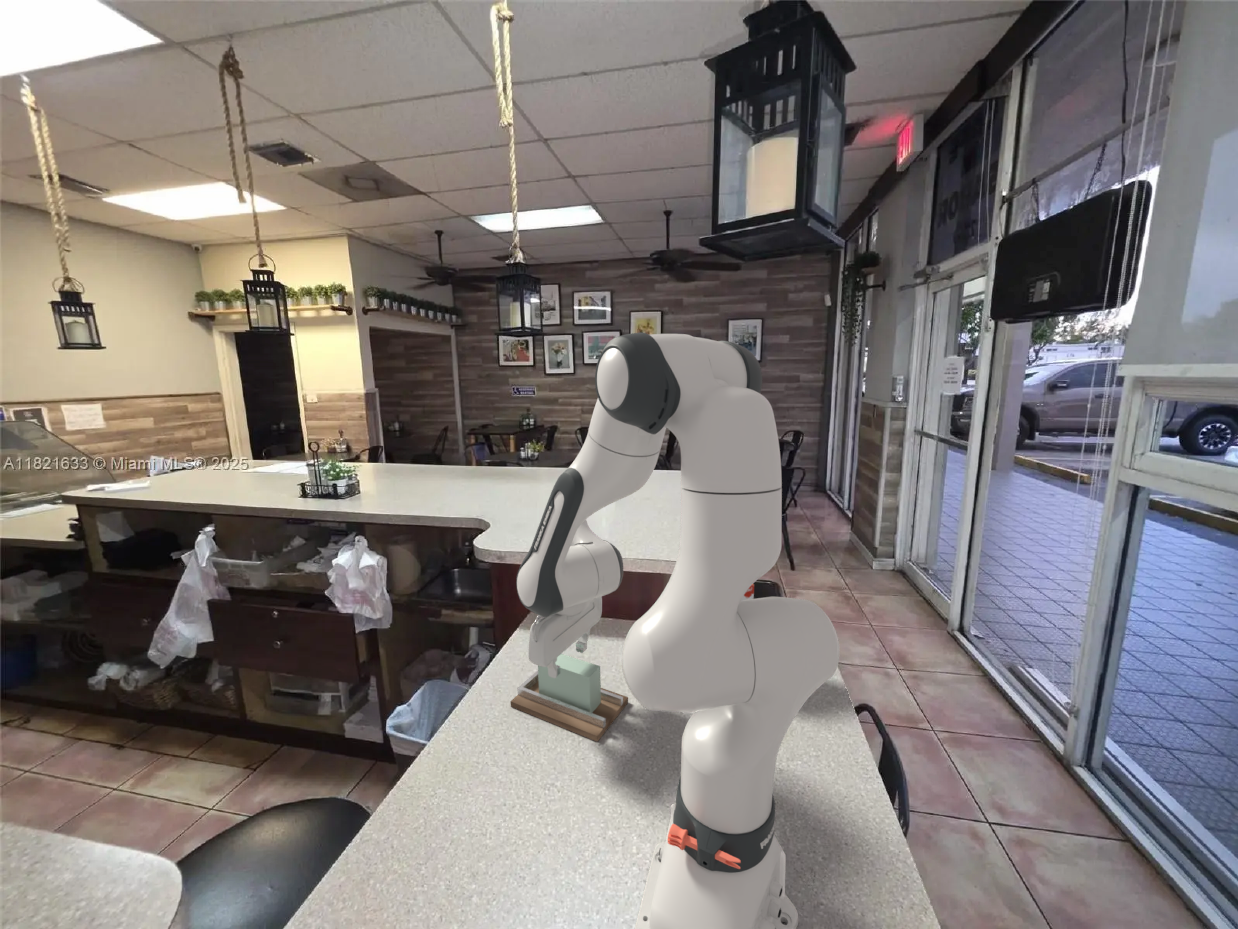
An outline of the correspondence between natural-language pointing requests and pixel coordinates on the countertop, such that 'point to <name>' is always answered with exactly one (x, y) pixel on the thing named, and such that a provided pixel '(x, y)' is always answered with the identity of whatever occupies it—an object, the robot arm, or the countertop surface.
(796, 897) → the countertop surface
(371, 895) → the countertop surface
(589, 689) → the mint green rectangular block
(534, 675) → the track rails
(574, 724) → the track board
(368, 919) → the countertop surface
